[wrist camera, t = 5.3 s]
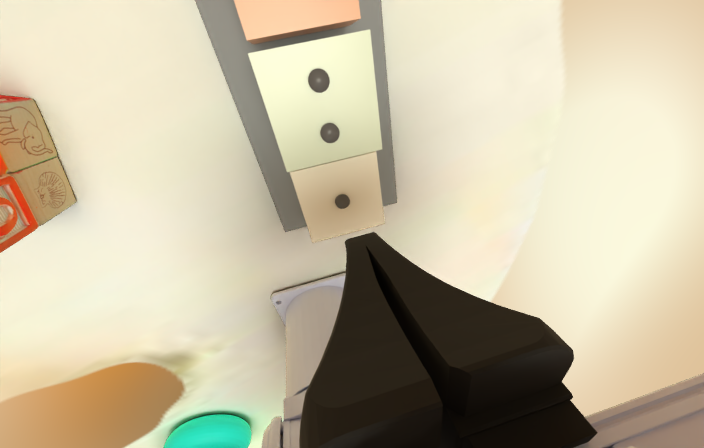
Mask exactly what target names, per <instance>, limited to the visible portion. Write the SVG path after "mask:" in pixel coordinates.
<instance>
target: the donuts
mask: <svg viewBox="0 0 704 448" xmlns="http://www.w3.org/2000/svg"><path fill="white" fill-rule="evenodd" d="M251 435H252V434H251V428H250V426H249V424H248V423H247V422H246V421H245V420H243V419H242V418H240V417H237V416H233V415H225V414H215V415H207V416H202V417H199V418H195V419H192V420H190V421H188V422H185V423H184V424H182V425H180V426H179V427H178V428H176V429H175V430H174V431H173V432H172V433H171V434H170V436H169V437H168V438H167V440H166V442H165V445H164V448H248V446H249V444H250V441H251Z"/></svg>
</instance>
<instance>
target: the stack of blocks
mask: <svg viewBox="0 0 704 448" xmlns="http://www.w3.org/2000/svg"><path fill="white" fill-rule="evenodd" d="M75 203H76V200H75V197H74V195H73V192H72V190H71V187H70V185H69V182H68V180H67V177H66V175H65V173H64V170H63V168H62V166H61V163H60V161H59V159H58V157H57V152H56V149H55V147H54V144H53V142H52V140H51V137H50V135H49V133H48V131H47V128H46V126H45V123H44V121H43V118H42V116H41V114H40V112H39V110H38V108H37V106H36V104H35V102H34V100H33V99H30V98H22V97H13V96H4V95H0V253H1V252H2V251H4V250H5V249H7V248H9V247H10V246H12V245H13V244H15V243H16V242H18V241H19V240H21V239H22V238H24V237H25V236H27V235H28V234H30V233H32V232H33V231H35V230H36V229H37V228H38V226H41V225H43V224H45V223H46V222H48V221H49V220H51V219H52V218H53V217H55V216H57V215H58V214H60V213H61V212H62V211H64V210H66V209H67V208H69V207H70V206H72V205H73V204H75Z"/></svg>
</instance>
